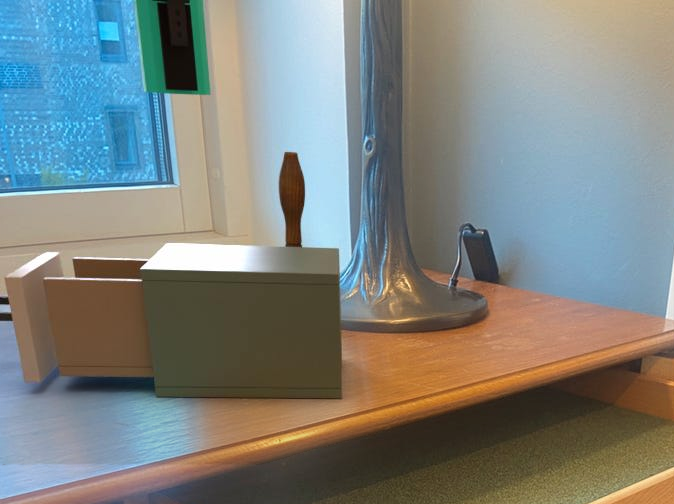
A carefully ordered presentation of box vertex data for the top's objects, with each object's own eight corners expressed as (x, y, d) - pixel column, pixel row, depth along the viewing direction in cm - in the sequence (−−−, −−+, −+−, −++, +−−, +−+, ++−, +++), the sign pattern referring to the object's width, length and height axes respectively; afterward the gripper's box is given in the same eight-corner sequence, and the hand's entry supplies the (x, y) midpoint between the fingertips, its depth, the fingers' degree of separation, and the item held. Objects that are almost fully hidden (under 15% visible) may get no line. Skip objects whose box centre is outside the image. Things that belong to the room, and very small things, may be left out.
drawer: (-43, 381, 74) (-67, 275, 70) (2, 345, 84) (-17, 250, 80) (202, 384, 76) (192, 281, 72) (218, 349, 86) (210, 256, 82)
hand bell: (310, 310, 106) (303, 148, 98) (351, 325, 100) (347, 155, 92) (241, 318, 101) (228, 148, 93) (281, 334, 96) (270, 155, 87)
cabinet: (155, 397, 76) (139, 269, 71) (179, 356, 86) (166, 243, 82) (342, 398, 78) (338, 273, 73) (342, 359, 88) (339, 248, 83)
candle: (160, 93, 85) (143, -73, 79) (132, 90, 89) (113, -68, 83) (222, 95, 89) (209, -64, 83) (192, 92, 93) (178, -60, 87)
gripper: (85, -223, 83) (123, 84, 95) (104, -283, 68) (146, 90, 80) (174, -209, 86) (201, 88, 98) (211, -264, 71) (237, 94, 83)
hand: (176, 88), depth 89 cm, fingers closed on candle, 6 cm apart
